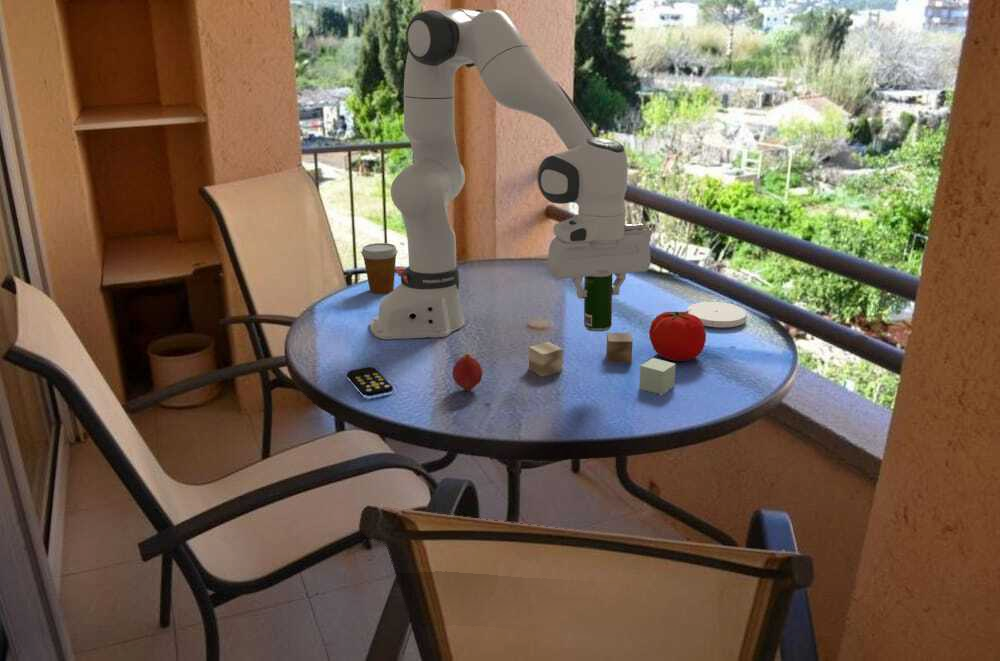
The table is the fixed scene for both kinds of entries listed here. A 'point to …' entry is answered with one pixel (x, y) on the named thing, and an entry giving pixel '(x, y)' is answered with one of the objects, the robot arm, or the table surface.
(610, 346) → the walnut block
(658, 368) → the sage painted block
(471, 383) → the onion
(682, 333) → the tomato
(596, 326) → the beer can
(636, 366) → the table surface
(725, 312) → the plastic lid
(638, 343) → the table surface
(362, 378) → the remote control
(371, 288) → the disposable coffee cup
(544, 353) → the beech block
